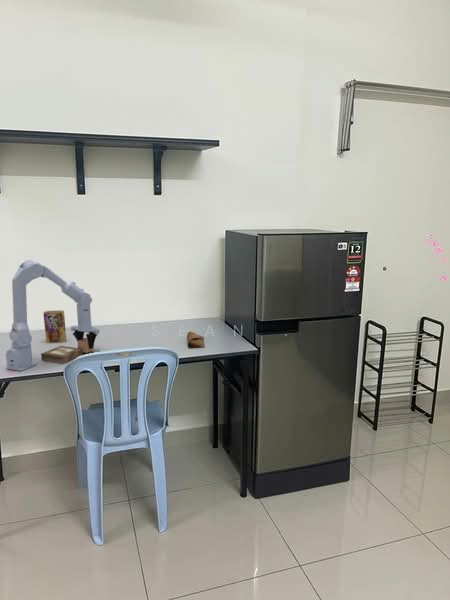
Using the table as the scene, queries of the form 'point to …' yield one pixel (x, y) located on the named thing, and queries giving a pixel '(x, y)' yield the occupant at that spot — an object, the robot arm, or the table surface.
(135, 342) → the table surface
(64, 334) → the candy box
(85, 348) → the cube
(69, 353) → the plinth
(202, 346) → the sunglasses case
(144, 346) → the table surface
